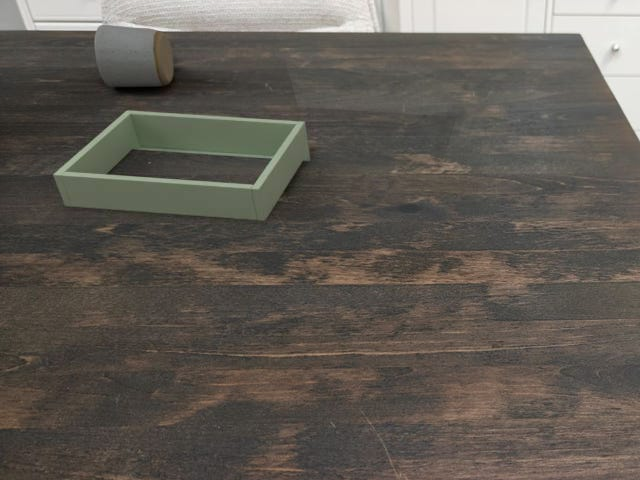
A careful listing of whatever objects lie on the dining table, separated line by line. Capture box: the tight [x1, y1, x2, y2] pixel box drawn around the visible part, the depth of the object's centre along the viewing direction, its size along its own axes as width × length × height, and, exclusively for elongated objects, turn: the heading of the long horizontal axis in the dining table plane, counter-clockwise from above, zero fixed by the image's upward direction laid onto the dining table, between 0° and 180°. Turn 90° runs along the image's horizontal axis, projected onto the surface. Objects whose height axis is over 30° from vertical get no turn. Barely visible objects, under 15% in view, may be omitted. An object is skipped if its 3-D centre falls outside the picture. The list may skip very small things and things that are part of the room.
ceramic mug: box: [94, 24, 175, 88], centre depth 100 cm, size 11×8×8 cm
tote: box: [52, 110, 311, 222], centre depth 79 cm, size 21×16×5 cm
